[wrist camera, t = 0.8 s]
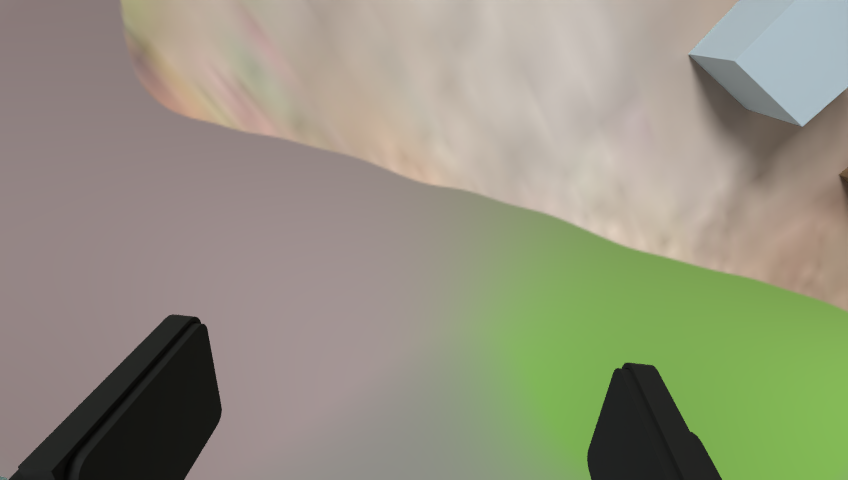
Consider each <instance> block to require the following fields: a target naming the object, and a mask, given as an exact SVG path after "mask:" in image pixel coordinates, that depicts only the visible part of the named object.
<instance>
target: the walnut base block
mask: <svg viewBox="0 0 848 480" xmlns="http://www.w3.org/2000/svg"><path fill="white" fill-rule="evenodd" d="M839 175H840V176H841V177H842V178H843V179H844V180H845V181H846V182H847V183H848V168H847V169H845V170H844V171H843V172H842V173H840V174H839Z"/></svg>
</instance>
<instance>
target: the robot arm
mask: <svg viewBox="0 0 848 480" xmlns="http://www.w3.org/2000/svg"><path fill="white" fill-rule="evenodd" d="M221 411H222V408H221V402H220V396H219V391H218V385H217V380H216V374H215V369H214V363H213V358H212V352H211V347H210V341H209V336H208V331H207V327H206V326H205V325H204V324H201V322H200V320H199V319H198V318H197V317H192V316H183V315H169V316H168V317H167V318H165V319H164V320H163V322H162V323H161V324H160V325H159V326H158V327H157V328H156V329H155V330H154V331H153V332H152V333H151V334H150V335H149V336H148V337H147V338H146V339H145V340H144V341H143V342H142V343H141V344H140V345H139V346H138V347H137V348H136V349H135V350H134V351H133V352H132V353H131V354H130V355H129V356H128V357H127V358H126V359H125V360H124V361H123V362H122V363H121V364H120V365H119V366H118V367H117V368H116V369H115V370H114V371H113V372H112V373H111V374H110V375H109V376H108V377H107V378H106V379H105V380H104V381H103V382H102V383H101V384H100V385H99V386H98V387H97V388H96V389H95V390H94V391H93V392H92V393H91V394H90V395H89V396H88V397H87V398H86V399H85V400H84V401H83V402H82V403H81V404H80V405H79V406H78V407H77V408H76V409H75V410H74V411H73V412H72V413H71V414H70V415H69V416H68V417H67V418H66V419H65V420H64V421H63V422H62V423H61V424H60V425H59V426H58V427H57V428H56V429H55V430H54V431H53V432H52V433H51V434H50V435H49V436H48V437H47V438H46V439H45V440H44V441H43V442H42V443H41V444H40V445H39V446H38V447H37V448H36V449H35V450H34V451H33V452H32V453H31V454H30V455H29V456H28V457H27V458H26V459H25V460H24V461H23V462H22V463H21V464H20V465H19V466H18V468H19V469H18V471H17V472H16V473H15V474H14V475H13V476H12V477H11V478H10V479H9V480H184V479H185V477H186V476H187V474H188V472H189V471H190V469H191V467H192V466H193V464H194V462H195V461H196V459H197V458H198V456H199V454H200V453H201V451H202V449H203V448H204V446H205V444H206V443H207V441H208V439H209V438H210V436H211V435H212V433H213V431H214V430H215V428H216V426H217V425H218V423H219V420H220V417H221ZM587 457H588V458H587V461H588V467H589V472H590V476H591V479H592V480H722V478H721V477H720V475H719V473H718V471H717V470H716V468H715V466H714V464H713V462H712V460H711V458H710V457H709V455H708V453H707V451H706V449H705V448H704V446H703V444H702V442H701V441H700V439H699V438H698V437H697V436H696V435H695V434H693V433H692V432H690V431H689V429H688V427H687V425H686V423H685V421H684V419H683V418H682V416H681V414H680V412H679V410H678V408H677V406H676V404H675V402H674V401H673V399H672V397H671V395H670V393H669V391H668V389H667V387H666V386H665V384H664V382H663V380H662V378H661V376H660V374H659V372H658V371H657V369H656V368H655V367H654V366H652V365H645V364H635V363H625V364H624V365H623V367H622V369H619V368H617V369H615V370H614V373H613V375H612V379H611V382H610V385H609V388H608V391H607V394H606V397H605V400H604V403H603V406H602V410H601V413H600V416H599V419H598V422H597V425H596V428H595V431H594V434H593V437H592V440H591V444H590V446H589V450H588V456H587ZM0 480H8V479H7V478H5V477H1V476H0Z"/></svg>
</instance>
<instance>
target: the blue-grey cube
mask: <svg viewBox="0 0 848 480" xmlns="http://www.w3.org/2000/svg"><path fill="white" fill-rule="evenodd" d="M689 55H690V56H691V57H692V58H693V59H694V60H695V61H696V62H697V63H698V64H699V65H700V66H701V67H702V68H703V69H705V70H706V71H707V72H708V73H709V74H710V75H711V76H712V77H713V78H714V79H715V80H716V81H717V82H718V83H719V84H720V85H721V86H723V87H724V88H725V89H726V90H727V91H728V92H729V93H730V94H731V95H732V96H733V97H734V98H735V99H736V100H737V101H738V102H740V103H741V104H742V105H743V106H744V107H745V108H746V109H748V110H751V111H754V112H757V113H760V114H763V115H767V116H770V117H773V118H776V119H779V120H782V121H786V122H789V123H792V124H795V125H798V126H801V127H803V126H804V125H805V124H806V123H807V122H808V121H810V120H811V119H812V118H813V117H814V116H815V115H816V114H818V113H819V112H820V111H821V110H822V109H823V108H824V107H826V106H827V105H828V104H829V103H830V102H831V101H832V100H834V99H835V98H836V97H837V96H838V95H839V94H841V93H842V92H843V91H844V90H845V89H846V88H847V87H848V0H739V1H738V2H737V3H736V4H735V5H734V6H733V7H732V8H731V9H730V10H729V12H728V13H727V14H726V15H725V16H724V17H723V18H722V19H721V20H720V21H719V22H718V23H717V24H716V25H715V26H714V27H713V28H712V29H711V30H710V31H709V33H708V34H707V35H706V36H705V37H704V38H703V39H702V40H701V41H700V42H699V43H698V44H697V45H696V46H695V47H694V48H693V49H692V50H691V51H690V53H689Z"/></svg>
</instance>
